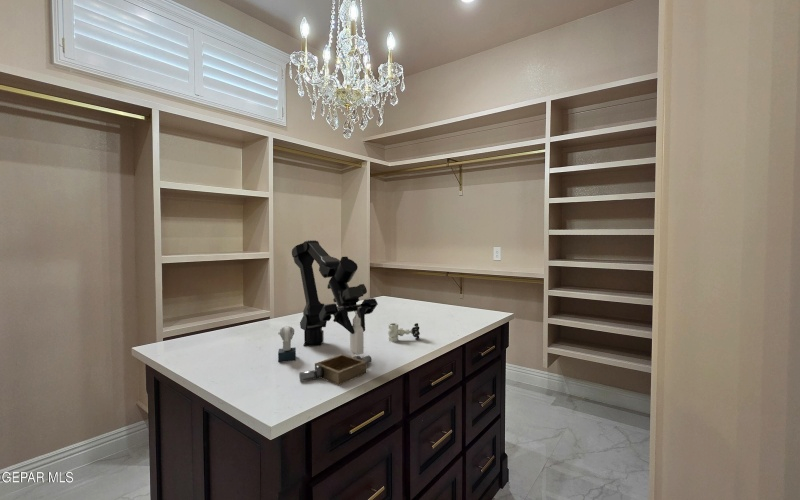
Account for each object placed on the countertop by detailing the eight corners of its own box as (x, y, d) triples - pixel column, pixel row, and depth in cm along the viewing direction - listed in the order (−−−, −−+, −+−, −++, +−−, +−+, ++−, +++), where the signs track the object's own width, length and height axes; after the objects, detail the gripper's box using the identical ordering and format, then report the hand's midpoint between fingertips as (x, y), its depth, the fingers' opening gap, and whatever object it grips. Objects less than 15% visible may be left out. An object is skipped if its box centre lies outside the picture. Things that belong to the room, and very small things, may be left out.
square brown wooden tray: (338, 385, 98) (338, 373, 98) (314, 375, 105) (314, 363, 105) (366, 373, 106) (366, 361, 106) (342, 364, 113) (342, 353, 113)
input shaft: (359, 369, 109) (359, 358, 109) (351, 366, 111) (351, 355, 111) (373, 363, 114) (373, 353, 114) (365, 361, 116) (365, 350, 116)
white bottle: (348, 355, 106) (348, 316, 105) (350, 349, 111) (350, 312, 111) (363, 355, 106) (363, 316, 105) (364, 349, 112) (364, 312, 111)
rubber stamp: (295, 354, 123) (295, 323, 122) (295, 362, 115) (295, 329, 115) (279, 355, 121) (278, 324, 121) (277, 364, 114) (277, 331, 113)
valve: (389, 343, 135) (419, 342, 137) (389, 326, 134) (419, 325, 136) (387, 338, 141) (416, 337, 143) (387, 322, 141) (416, 321, 143)
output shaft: (320, 375, 105) (320, 363, 105) (322, 379, 102) (322, 367, 101) (299, 378, 102) (298, 366, 102) (300, 383, 99) (300, 371, 99)
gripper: (322, 278, 105) (340, 322, 97) (374, 274, 116) (394, 313, 108) (312, 300, 111) (327, 343, 103) (362, 293, 123) (379, 332, 115)
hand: (358, 332), depth 107 cm, fingers closed on white bottle, 3 cm apart
